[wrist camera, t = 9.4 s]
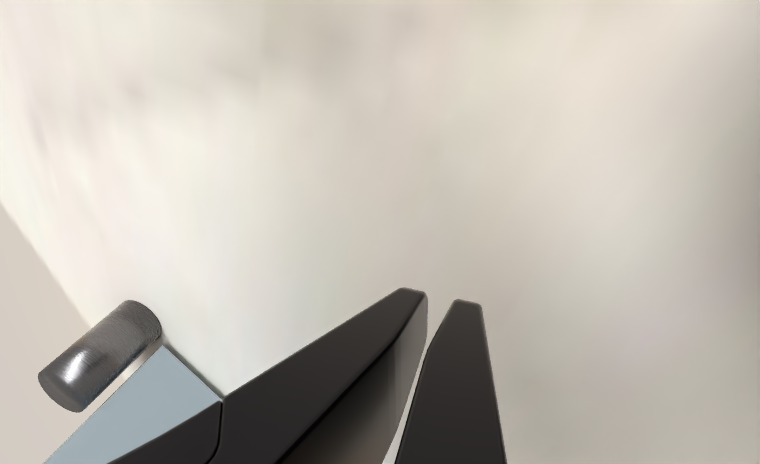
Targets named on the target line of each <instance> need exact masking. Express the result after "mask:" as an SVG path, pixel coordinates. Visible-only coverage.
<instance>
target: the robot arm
mask: <svg viewBox="0 0 760 464" xmlns="http://www.w3.org/2000/svg"><path fill="white" fill-rule="evenodd" d="M427 314H428V298H427V295H426V293H425V292H423V291H418V290H414V289H409V288H399V289H397V290H396V291H394V292H393V293H391V294H389V295H388V296H386V297H384V298H383V299H381V300H380V301H378V302H376V303H375V304H373V305H372V306H370V307H368V308H367V309H365V310H363V311H362V312H360V313H359V314H357V315H355V316H354V317H352V318H351V319H349V320H347V321H346V322H344V323H343V324H341V325H339V326H338V327H336V328H334V329H333V330H331V331H330V332H328V333H326V334H325V335H323V336H322V337H320V338H318V339H317V340H315V341H313V342H312V343H310V344H309V345H307V346H305V347H304V348H302V349H301V350H299V351H297V352H296V353H294V354H292V355H291V356H289V357H288V358H286V359H284V360H283V361H281V362H280V363H278V364H276V365H275V366H273V367H271V368H270V369H268V370H267V371H265V372H263V373H262V374H260V375H259V376H257V377H255V378H254V379H252V380H250V381H249V382H247V383H246V384H244V385H242V386H241V387H239V388H238V389H236V390H234V391H233V392H231V393H229V394H228V395H226V396H225V397H224V398H223V402H222V401H220V400H218V401H216V402H215V403H213V404H211V405H210V406H208V407H207V408H205V409H203V410H202V411H200V412H198V413H197V414H195V415H193V416H192V417H190V418H188V419H187V420H185V421H183V422H182V423H180V424H178V425H176V426H175V427H173V428H171V429H170V430H168V431H166V432H165V433H163V434H161V435H160V436H158V437H156V438H154V439H152V440H150V441H148V442H146V443H145V444H143V445H141V446H139V447H137V448H135V449H133V450H131V451H130V452H128V453H126V454H124V455H122V456H120V457H118V458H116V459H114V460H112V461H111V462H109V463H107V464H382V462H383V460H384V458H385V456H386V454H387V452H388V449H389V447H390V445H391V443H392V441H393V438H394V436H395V434H396V431H397V428H398V425H399V423H400V420H401V417H402V414H403V411H404V408H405V405H406V402H407V399H408V396H409V393H410V389H411V386H412V383H413V380H414V377H415V374H416V371H417V368H418V365H419V362H420V359H421V356H422V353H423V350H424V346H425V343H426V337H427ZM394 464H507V459H506V453H505V447H504V441H503V435H502V429H501V423H500V416H499V410H498V404H497V398H496V392H495V386H494V380H493V373H492V367H491V361H490V355H489V349H488V343H487V337H486V330H485V324H484V318H483V312H482V307H481V305H480V304H478V303H474V302H469V301H465V300H460V299H457V300H454V301H453V303H452V304H451V306H450V308H449V310H448V312H447V314H446V315H445V317H444V319H443V321H442V323H441V325H440V326H439V328H438V330H437V332H436V334H435V336H434V338H433V339H432V341H431V343H430V345H429V347H428V350H427V352H426V355H425V358H424V361H423V365H422V368H421V372H420V375H419V379H418V382H417V386H416V389H415V393H414V396H413V400H412V403H411V407H410V410H409V414H408V417H407V421H406V424H405V428H404V432H403V435H402V439H401V442H400V446H399V449H398V453H397V456H396V460H395V463H394Z"/></svg>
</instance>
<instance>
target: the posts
mask: <svg viewBox="0 0 760 464" xmlns="http://www.w3.org/2000/svg"><path fill="white" fill-rule="evenodd" d="M160 335H161V326H160V323H159V321H158V319H157V318H156V316H155V315H154V314H153V313H152V312H151V311H150V310H149V309H148V308H147V307H145V306H144V305H142V304H140V303H138V302H136V301H131V300H127V301H124V302H123V303H122V304H121V305H119V306H118V307H117V308H116V309H115V310H113V311H112V312H111V313H110V314H109V315H107V316H106V317H105V318H104V319H103V320H101V321H100V322H99V323H98V324H97V325H96V326H94V327H93V328H92V329H91V330H90V331H88V332H87V333H86V334H85V335H84V336H82V337H81V338H80V339H79V340H78V341H76V342H75V343H74V344H73V345H72V346H71V347H69V348H68V349H67V350H66V351H65V352H63V353H62V354H61V355H60V356H59V357H57V358H56V359H55V360H54V361H53V362H51V363H50V364H49V365H48V366H47V367H45V368H44V369H43V370H42V371H41V372H39V374H38V379H39V382H40V385H41V386H42V388H43V390H44V391H45V392H46V393H47V394H48V396H49V397H50V398H51V399H53V400H54V401H55V402H56V403H57V404H59V405H60V406H62V407H63V408H65V409H67V410H69V411H72V412H82V411H83V410H84V409H85V408H86V407H87V406H88V405H89V404H90V403H91V402H92V401H94V400H95V398H97V397H98V396H99V395H100V394H101V393H102V392H103V391H104V390H105V389H106V388H107V387H108V386H109V385H110V384H111V383H112V382H113V381H114V380H115V379H116V378H117V377H118V376H119V375H120V374H121V373H122V372H123V371H124V370H125V369H126V368H127V367H129V366H130V365H131V364H132V363H133V362H134V361H135V360H136V359H137V358H138V357H139V356H140V355H141V354H142V353H143V352H144V351H145V350H146V349H147V348H148V347H149V346H150V345H151V344H152V343H153V342H154V341H155V340H156V339H157V338H158V337H159V336H160Z"/></svg>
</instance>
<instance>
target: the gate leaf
mask: <svg viewBox="0 0 760 464" xmlns="http://www.w3.org/2000/svg"><path fill="white" fill-rule="evenodd" d="M218 400H220V401H222V402H223V400H222V399H221V398H220V397H218V396H217V395H216V394H215V393H214V392H213V391H212V390H211V389H210V388H209V387H208V386H207V385H205V384H204V383H203V382H202V381H201V380H200V379H199V378H198V377H197V376H196V375H195V374H193V373H192V372H191V371H190V370H189V369H188V368H187V367H186V366H185V365H184V364H183V363H182V362H180V361H179V360H178V359H177V358H176V357H175V356H174V355H173V354H172V353H171V352H170V351H169V350H167V349H166V348H165V347H164V346H163V345H162V346H161V347H160V348H159V349H158V350H157V351H155V352H154V353H153V354H152V355H151V356H150V357H149V358H148V359H147V360H146V361H145V362H144V363H143V364H142V365H141V366H140V367H139V368H138V369H137V370H136V371H135V372H134V373H133V374H132V375H131V376H130V377H129V378H128V379H127V380H126V381H125V382H124V383H123V384H122V385H121V387H119V388H118V389H117V390H116V391H115V392H114V393H113V394H112V395H111V396H110V397H109V398H108V399H107V400H106V401H105V402H104V403H103V404H102V405H101V406H100V407H99V408H98V409H97V410H96V411H95V412H94V413H93V414H92V415H91V416H90V417H89V418H88V419H87V420H86V421H85V422H84V423H83V424H82V425H81V426H80V427H79V428H78V429H77V430H76V431H75V432H74V433H73V434H72V435H71V436H70V437H69V438H68V439H67V440H66V441H65V442H64V443H63V444H62V445H61V446H60V447H59V448H58V449H57V450H56V451H55V452H54V453H53V454H52V455H51V456H50V457H49V458H48V459H47V460H46V461H45V462H44V463H43V464H107V463H109V462H111V461H112V460H114V459H116V458H118V457H120V456H122V455H124V454H126V453H128V452H130V451H131V450H133V449H135V448H137V447H139V446H141V445H143V444H145V443H146V442H148V441H150V440H152V439H154V438H156V437H158V436H160V435H161V434H163V433H165V432H166V431H168V430H170V429H171V428H173V427H175V426H176V425H178V424H180V423H182V422H183V421H185V420H187V419H188V418H190V417H192V416H193V415H195V414H197V413H198V412H200V411H202V410H203V409H205V408H207V407H208V406H210V405H211V404H213V403H215V402H216V401H218Z"/></svg>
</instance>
